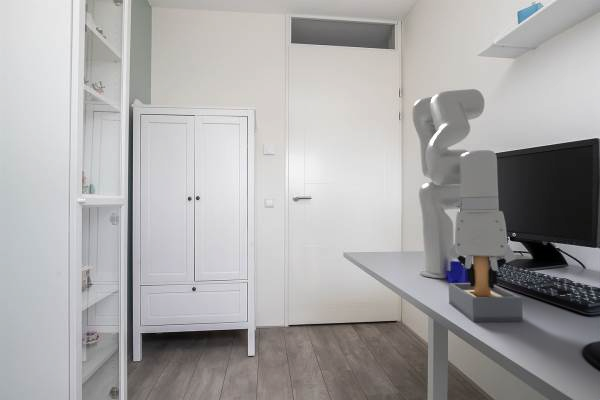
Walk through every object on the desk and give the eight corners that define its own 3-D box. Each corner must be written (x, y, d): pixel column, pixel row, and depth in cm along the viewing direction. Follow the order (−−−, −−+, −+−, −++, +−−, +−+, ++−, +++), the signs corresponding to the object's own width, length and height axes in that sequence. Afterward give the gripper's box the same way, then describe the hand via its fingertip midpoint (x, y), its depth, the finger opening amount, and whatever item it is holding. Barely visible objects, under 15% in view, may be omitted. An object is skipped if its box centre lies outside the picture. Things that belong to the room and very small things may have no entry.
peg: (475, 296, 74) (473, 254, 74) (491, 298, 72) (489, 255, 72) (474, 300, 71) (472, 256, 71) (490, 302, 69) (488, 257, 69)
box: (449, 303, 78) (448, 283, 78) (490, 302, 78) (490, 282, 78) (473, 322, 66) (472, 298, 66) (522, 321, 66) (521, 297, 66)
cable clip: (445, 280, 101) (445, 261, 101) (460, 280, 100) (460, 261, 100) (459, 290, 89) (458, 269, 89) (476, 290, 88) (475, 269, 88)
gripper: (437, 206, 73) (440, 285, 73) (524, 204, 64) (527, 295, 64) (442, 205, 79) (445, 278, 79) (522, 204, 70) (525, 286, 70)
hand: (482, 285), depth 72 cm, fingers closed on peg, 3 cm apart
